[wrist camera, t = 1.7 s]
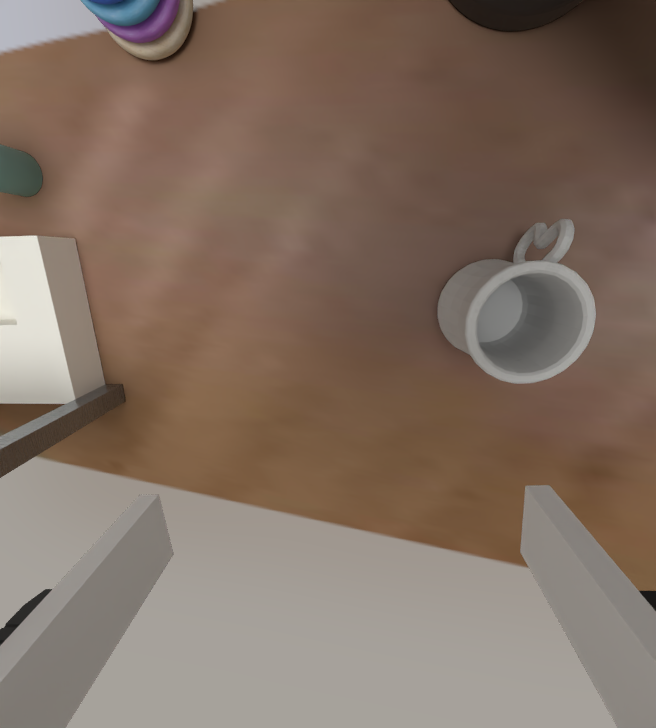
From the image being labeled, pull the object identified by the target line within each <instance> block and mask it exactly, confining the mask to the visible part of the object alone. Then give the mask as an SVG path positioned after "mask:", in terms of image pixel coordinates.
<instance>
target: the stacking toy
mask: <svg viewBox="0 0 656 728" xmlns="http://www.w3.org/2000/svg"><path fill="white" fill-rule="evenodd" d="M81 1H82V2H83V4H84V5H85V6H86V7H87V8H88V9H89V10H90V11H91V12H92V13H94V14H95V16H96V17H97V18H98V19H99V21H100V22H101V23H102V24H103V25H104V26H105V28H106V29H107V31H108V33H109V34H110V35H111V37H112V38H113V39H114V40H115V41H116V43H117V44H118V45H119V46H120V47H122V48H123V49H124V50H125V51H127V52H128V53H130V54H132V55H134V56H136V57H138V58H141V59H145V60H159V59H163V58H166V57H168V56H170V55H172V54H173V53H174V52H176V51H177V50H178V49H179V48H180V47H181V45H182V44H183V43H184V41H185V39H186V37H187V35H188V33H189V30H190V27H191V23H192V17H193V0H81Z"/></svg>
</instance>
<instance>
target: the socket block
mask: <svg viewBox="0 0 656 728" xmlns="http://www.w3.org/2000/svg"><path fill="white" fill-rule="evenodd" d="M103 385H105V380H104V376H103V371H102V366H101V361H100V356H99V352H98V347H97V342H96V337H95V332H94V328H93V323H92V318H91V313H90V308H89V304H88V299H87V294H86V289H85V284H84V279H83V275H82V270H81V265H80V260H79V255H78V251H77V246H76V241H75V238H62V237H49V236H10V237H0V403H10V404H67V403H69V402H71V401H73V400H75V399H77V398H79V397H81V396H83V395H85V394H87V393H89V392H91V391H93V390H95V389H97V388H99V387H101V386H103Z"/></svg>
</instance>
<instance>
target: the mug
mask: <svg viewBox="0 0 656 728" xmlns="http://www.w3.org/2000/svg"><path fill="white" fill-rule="evenodd" d="M574 230H575V229H574V225H573V222H572V221H571V220H569V219H560V220H558V221H557V222H555V223H554V224H553V225H552V226H551V227H550V228H549V229H548V230H547V226H546V224H545V223H536V224H534V225H533V226H532V227H531V228H530V229H529V230H528V231H527V232H526V233H525V234H524V235H523V237H522V238H521V239H520V241H519V243H518V244H517V246H516V249H515V251H514V257H513V262H509V261H504V260H500V259H486V260H480V261H477V262H474V263H471V264H469V265H467V266H466V267H464V268H462V269H461V270H459V271H457V272H456V273H455V274H454V275H453V276H452V277H451V279H450V280H449V281H448V282H447V284H446V285H445V287H444V289H443V290H442V292H441V295H440V298H439V302H438V313H437V317H438V321H439V325H440V329H441V330H442V332H443V334H444V336H445V337H446V339H447V340H448V341H449V342H450V343H451V344H452V345H453V346H454V347H456V348H458V349H460V350H462V351H463V352H465V353H467V354H469V355H471V357H472V358H473V360H474V361H475V363H476V364H477V365H478V366H479V367H480V368H482V369H483V370H484V371H485V372H486V373H487V374H489V375H491V376H493V377H495V378H497V379H499V380H501V381H506V382H510V383H515V384H519V383H534V382H538V381H542V380H546V379H549V378H551V377H553V376H555V375H556V374H558V373H560V372H562V371H564V370H565V369H566V368H567V367H569V366H570V365H571V364H572V363H573V362H575V361H576V360H577V358H578V357H579V356H580V355H581V353H582V352H583V351H584V349H585V348H586V347H587V345H588V342H589V340H590V338H591V335H592V333H593V331H594V324H595V318H596V310H595V302H594V297H593V295H592V293H591V291H590V289H589V287H588V285H587V283H586V282H585V281H584V280H583V279H582V278H581V277H580V276H579V275H578V274H577V273H576V272H575V271H573V270H571V269H570V268H568V267H566V266H564V265H562V264H559V263H557V262H558V261H559V260H560V259H561V258H562V257H563V256H564V255H565V253H566V252H567V251H568V249H569V247H570V245H571V242H572V240H573V236H574ZM557 236H558V239H557V242H556V244H555V246H554V247H553V249H552V250H551V251H550V252H549V253H548V254H547V255H546V256H545V257H544V258H543V259H542V260H538V261H525V258H524V257H525V253H526V250H527V248H528V247H529V245H530V244H531V242H532V241H533V242H534V245H535V246H536V248H537V249H544V248H546V247H547V246H548V245H549V244H550V243H551V242H552V241H553V240H554V239H555V238H556V237H557Z"/></svg>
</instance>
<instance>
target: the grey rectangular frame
mask: <svg viewBox="0 0 656 728" xmlns="http://www.w3.org/2000/svg"><path fill="white" fill-rule="evenodd" d="M123 402H125V396H124V391H123V386H122V384H105V385H103V386H101V387H99V388H97V389H95V390H93V391H91V392H89V393H87V394H85V395H83V396H81V397H79V398H77V399H75V400H73V401H71V402H69V403H67V404H65V405H63V406H61V407H59V408H57V409H55V410H53V411H51V412H49V413H47V414H45V415H43V416H41V417H39V418H37V419H35V420H33V421H31V422H29V423H27V424H25V425H23V426H21V427H19V428H16V429H14V430H12V431H10V432H8V433H6V434H4V435H2V436H0V478H1V477H2V476H4V475H6V474H7V473H9V472H10V471H12V470H14V469H15V468H17V467H18V466H20V465H22V464H24V463H25V462H27V461H28V460H30V459H32V458H33V457H35V456H37V455H38V454H40V453H42V452H43V451H45V450H46V449H48V448H50V447H51V446H53V445H55V444H56V443H58V442H59V441H61V440H63V439H64V438H66V437H68V436H69V435H71V434H73V433H74V432H76V431H77V430H79V429H81V428H82V427H84V426H86V425H87V424H89V423H90V422H92V421H94V420H95V419H97V418H99V417H100V416H102V415H104V414H105V413H107V412H108V411H110V410H112V409H113V408H115V407H117V406H118V405H120V404H122V403H123Z"/></svg>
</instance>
